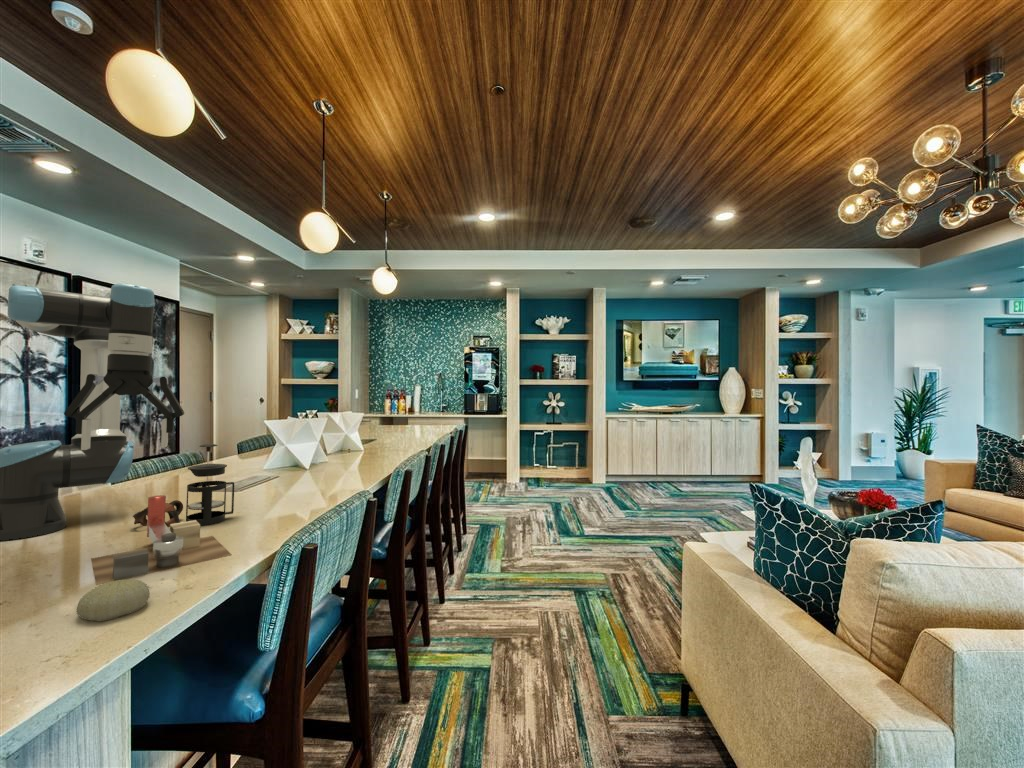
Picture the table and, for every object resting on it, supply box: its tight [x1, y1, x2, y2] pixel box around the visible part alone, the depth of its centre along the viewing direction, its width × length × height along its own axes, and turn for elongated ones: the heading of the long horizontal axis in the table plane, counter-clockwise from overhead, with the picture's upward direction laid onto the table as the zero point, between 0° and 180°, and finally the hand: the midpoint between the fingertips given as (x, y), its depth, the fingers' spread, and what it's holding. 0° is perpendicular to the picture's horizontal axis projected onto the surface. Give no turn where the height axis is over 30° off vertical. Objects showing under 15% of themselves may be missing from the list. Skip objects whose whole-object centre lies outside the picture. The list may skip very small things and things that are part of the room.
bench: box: [90, 533, 233, 586], centre depth 95 cm, size 18×22×8 cm
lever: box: [146, 494, 183, 559], centre depth 97 cm, size 21×5×9 cm, turn 46°
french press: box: [185, 443, 235, 527], centre depth 121 cm, size 12×9×23 cm
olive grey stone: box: [75, 578, 151, 622], centre depth 75 cm, size 9×8×8 cm
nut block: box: [169, 520, 201, 549], centre depth 102 cm, size 5×5×5 cm
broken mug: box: [132, 499, 184, 528], centre depth 122 cm, size 12×10×8 cm
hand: (126, 448), depth 98 cm, fingers open, 13 cm apart
